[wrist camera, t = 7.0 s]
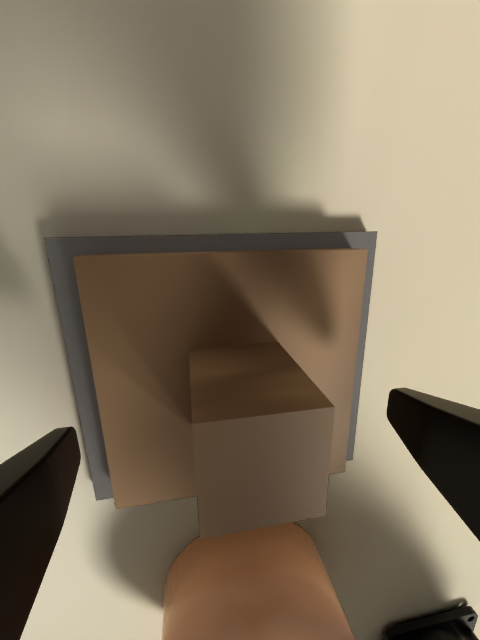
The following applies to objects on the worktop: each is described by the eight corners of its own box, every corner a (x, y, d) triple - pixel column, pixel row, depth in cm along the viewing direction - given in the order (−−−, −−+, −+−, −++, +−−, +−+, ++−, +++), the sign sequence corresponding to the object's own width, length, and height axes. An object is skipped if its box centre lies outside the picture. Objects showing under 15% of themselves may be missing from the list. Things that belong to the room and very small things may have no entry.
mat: (367, 231, 11) (377, 231, 11) (345, 450, 14) (352, 460, 13) (52, 237, 9) (44, 237, 9) (100, 488, 12) (96, 500, 12)
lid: (351, 247, 11) (485, 258, 6) (333, 454, 13) (416, 578, 8) (84, 254, 9) (-24, 275, 4) (121, 486, 12) (78, 658, 7)
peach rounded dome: (322, 503, 15) (369, 597, 11) (313, 612, 17) (350, 720, 13) (157, 533, 13) (146, 651, 10) (172, 647, 16) (167, 779, 12)
